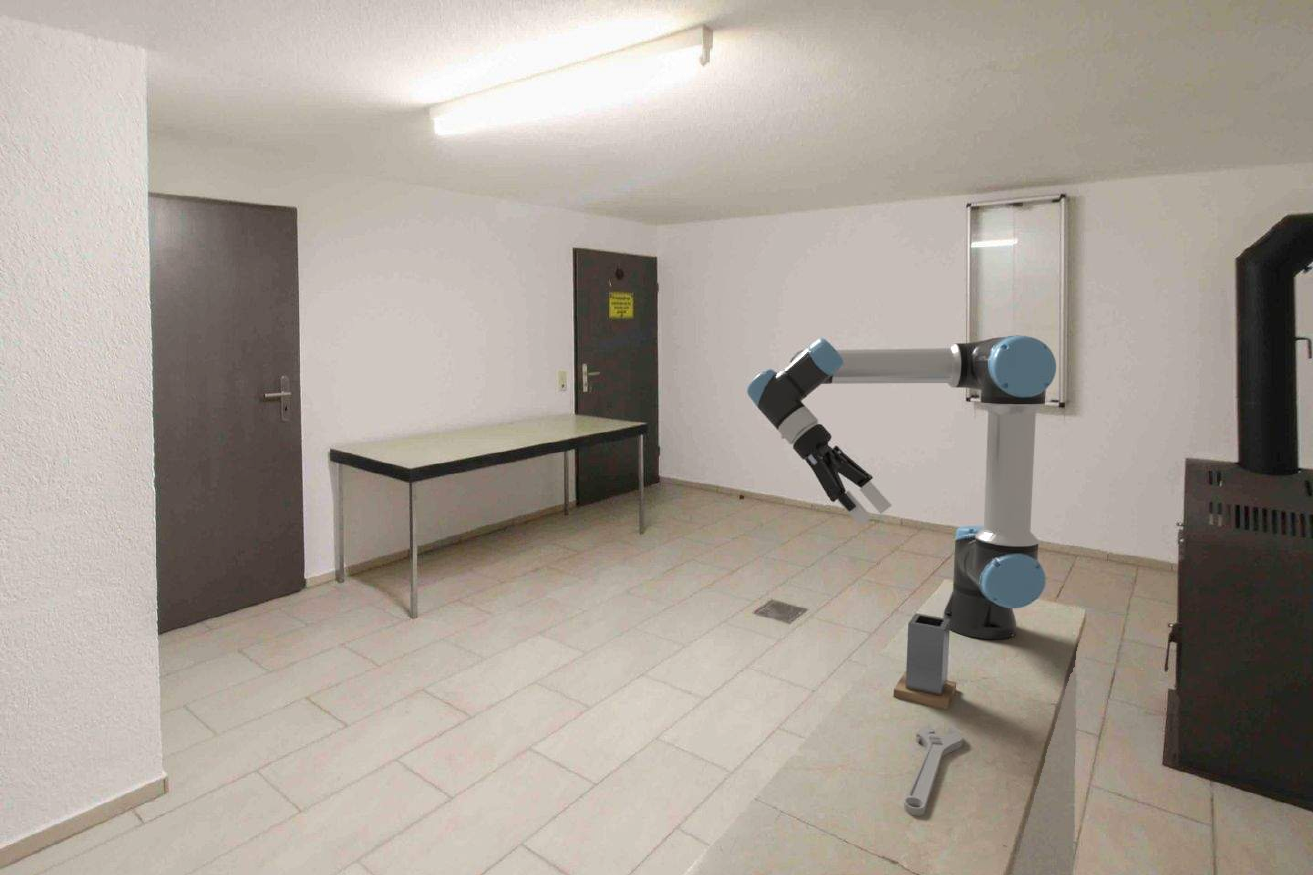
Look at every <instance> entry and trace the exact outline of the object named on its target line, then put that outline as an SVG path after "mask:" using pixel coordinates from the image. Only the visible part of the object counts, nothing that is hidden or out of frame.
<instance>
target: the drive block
mask: <svg viewBox="0 0 1313 875" xmlns="http://www.w3.org/2000/svg"><path fill="white" fill-rule="evenodd" d="M956 691H957V682H956V681H953V680H948V679H947V685H946V687H945V689H944V691H943V693H942V695H941V696H939V695H934V694H930V693H926V692H921V691H917V690H912V689H908V688H906V670H905V671H904V672H903V674H902V675H901V677H900V679H899V680H898V681H897V684H896V685H895V687H894V688H893V697H894V698H897V699H900V700H905V701H909V702H913V703H917V704H921V705H925V706H929V707H934V708H938V709H941V710H946V711H947V710H948V708H949V706H950V703H951V702H952V699H953V697H954V695H955V693H956Z"/></svg>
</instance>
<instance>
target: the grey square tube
mask: <svg viewBox="0 0 1313 875" xmlns="http://www.w3.org/2000/svg"><path fill="white" fill-rule="evenodd" d="M907 625H908V626H907V643H906V644H907V645H906V649H907V650H906V669H905V671H906V688H908V689H912V690H917V691H921V692H926V693H930V694H934V695H939V696H941V695H942V693H943V691H944V689H945V687H946V685H947V680H948V672H949V670H948V669H949V651H950V650H949V649H950V648H949V647H950V631H951V630H950V619H946V618H943V617H940V616H934V615H928V614H921V613H917V612H916V613H914V614H913V616H912V617H911V619H910V620H909V621H908V624H907Z"/></svg>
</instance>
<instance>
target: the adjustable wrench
mask: <svg viewBox="0 0 1313 875" xmlns="http://www.w3.org/2000/svg"><path fill="white" fill-rule="evenodd" d="M915 741H916V742H917V743H920V744H921V745H922V746H923V747H924V748H925V749H926V750H925V752H924V755H923V757H922V760H921V761H920V764H919V766H918V768H917V770H916V773H915V774H914V777H913V779H912V781H911V784H910V786H909V788H908V791H907V793H906V796H905V797H904V800H903V809H904V811H905V812H906V813H908V814H910V815H913V816H919V817H920V816H922V815H924V814H925V812H926V810H927V809H926V808H927V806H928V803H929V800H930V796H931V793H932V790H933V788H934V784H935V781H936V778H937V775H938V772H939V768H940V766H941V763H942V760H943V758H944V757H945V756H946V755H948V754H949V753H951V752H953V751H956V750H957V749H960V748H962V747H963V745H964V734H963V732H962V731H961V730H960V729H959V728H957V727H955V726H953V725H951V724H949V725H948V733H947V734H946V733H945V734H942V733H935V730H934V727H933V725H932V724H931V723H927V724H924V725H922V726H921V727H920V729H919V732H915Z"/></svg>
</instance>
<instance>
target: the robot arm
mask: <svg viewBox="0 0 1313 875" xmlns="http://www.w3.org/2000/svg"><path fill="white" fill-rule="evenodd" d="M1056 373H1057V361H1056V358H1055V355H1054V353H1053V352H1052V350H1051V348H1050V347H1049V346H1048V345H1047V344H1046V343H1045V342H1043V341H1042V340H1040V339H1038V338H1036V337H1032V336H1026V335H1019V334H1016V335H1009V336H1002V337H1001V336H1000V337H993V338H989V339H984V340H978V341H973V342H962V343H961V342H960V343H955V342H954V343H952V344H951V345H949V347H945V348H944V347H943V348H942V347H940V348H935V347H933V348H882V349H881V348H880V349H879V348H877V349H876V348H872V349H871V348H870V349H867V348H866V349H835V346H833V345H832V344H831V343H830V342H829V341H828V340H827V339H825V338H822V337H820V338H817V340H815V341H814V342H812V343H810V344H809V346H807V347H806V348H805V349H802V350H800V351H797V352H796V353H795V354H794V355H793V356H792V358H791V359H790V361H789V363H788V364H787V365H786V366H785V367H784V368H782V369H781V370H780V371H779V372H777V371H775V370H774V369H772V368H768V369H766V370H764V371H762V372H761V373H759V374H758V375H756V376H755V377H754V378H753V379H752V381H750V383H749V384H748V386H747V389H746V391H747V392H746V393H747V395H748V397H749V399H750V400H752V402H753V403H754V405H755V406H756V407H757V409H758V410H759V411H760V412H761V413H762V414H763V415H764V416H765V418H766V419H767V420H768V421H769V422H770V423H771V425H772V426H773V427H774V428H775V429H776V431H778V433H780V438H781V439H783V440H785V441H786V442H787V443H788V444H789V445H792V449H793V450H794V451H795V452H796V453H797V455H798V456H799V457H800V458H801V459H802V460H805V462H806V463H807V465H808V466H809V467H810V468H811V470H812V471H813V474H814V475H815V477H816V479H817V480H818V482H819V483H820V485H821V487H822V488H823V491H824V492H825V495H826V496H827V497H828V498H829V500H830V501H831V502H832V503H835V502H836V501H837V502H838V503H839V504H840V505H841V506H842V508H844V509H845V511H846V512H847V513H848V514H849V516H850V517H851V518H852V520H854V521H855V522H856V523H857V525H858V526H859V527H860V528H861V527H863V526H864V525H865V524H866V523H868V521H870V520H871V519H872V518H873V517H872V515H871V514H870V513H869V512H868V510H867V509H866V508H865V507H864V506H863V505H862V504H861V502H860V501H859V500H858V499H857V498H856V497H855V496H854V495H853V493H852V492H851V491H850V490H846V488H845V486H844V483H843V481H842V479H841V477H840V475H842V477H844V478H846V479H847V480H849V481H850V482H852V483H853V484H854V485H856V486H857V487H858V488H860V489H859V491H860V492H861V493H862V494H863V495H864V496H865V498H866V499H867V500H868V501H869V502H870V504H871V505H872V506H873V507H874V508H875V509H876V510H877V511H878V513H879V514H881V515H882V514H884V513H885V512H886V511H887V510H888V509H890V508H891V507H892V503H890V502H889V500H888V499H887V498H886V497H885V496H884V495H883V494H882V493H881V491H880V490H879V489H878V488H877V487H876V486H875V484H873V482H872V480H873V478H874V477H873V475H872V474H870V473H868V471H866V470H865V469H863V468H862V467H861V466H860V465H859V464H858V463H856V462H855V461H854V460H853V459H852V458H850V457H849V456H848V455H847V454H846V453H844V451H843V450H842V449H841V448H840V447H839V446H838V445H834V446H833V447H831V446H830V445H829V442H831V440H832V434H831V433H830V432H829V431H828V430H827V429H826V428H825V426H823V424H822V423H819V419H818V418H817V417H816V416H815V415H814V414H813V413H812V411H811V410H810V409H809V408H808V407H807V406H806V405H805V404H804V403H803V400H804V399H805V398H807V397H808V396H809V395H810V394H811V393H813V391H815V390H816V389H817V388H819V387H820V386H821V385H829V384H830V385H832V384H836V385H838V384H841V385H842V384H844V385H846V384H851V385H853V384H856V385H857V384H948V385H949V386H950V387H951V388H953V389H954V388H963V389H964V388H965V389H973V390H979V391H980V405H981V406H982V407H983V408H984V409H985V410H986V411H987V434H986V435H987V437H986V440H987V441H986V461H985V462H986V463H985V484H984V486H985V488H984V510H983V512H984V513H983V525H965V526H964V525H962V526H960V527H958V528H957V529H956V531H955V538H954V541H953V542H954V557H953V559H954V560H953V561H954V562H953V581H952V582H953V584H952V591H951V594H950V596H949V597H948V598H949V599H948V601H947V603H946V606H945V608H944V611H943V614H942V618H946V619H950V631H952V632H954V633H957V634H959V635H963V636H967V637H970V638H976V639H984V640H1005V639H1009V638H1008V637H1010V638H1012V637H1013V636H1012V635H1014V634H1015V633H1017V626H1018V625H1017V624H1018V623H1017V620H1016V616H1015V612H1014V609H1019V608H1020V609H1021V608H1023V607H1024V608H1025V607H1027V606H1030V605H1031V604H1032V603H1033V602H1035V601H1036V600H1038V599H1039V598H1040V597H1041V596H1042V594H1043V592H1044V590H1045V588H1046V583H1047V580H1046V574H1045V570H1044V567H1043V566H1042V565H1041V563H1040V562H1039V560H1038V559H1039V539H1038V538H1037V537H1036V536H1035V535H1034V534H1033V533H1032V531H1031V529H1032V528H1031V525H1032V524H1031V522H1032V506H1033V504H1032V502H1033V484H1034V483H1033V481H1034V462H1035V461H1034V459H1035V442H1036V441H1035V438H1036V421H1037V420H1036V416H1037V412H1039V411H1040V410H1041V409H1042V408H1044V407H1045V406H1046V392H1047V389H1048V388H1049V387H1050V386H1051V385H1052V383H1053V381H1054V379H1055V377H1056ZM839 474H840V475H839ZM1015 635H1016V634H1015ZM1015 635H1014V636H1015ZM1011 636H1012V637H1011Z"/></svg>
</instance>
